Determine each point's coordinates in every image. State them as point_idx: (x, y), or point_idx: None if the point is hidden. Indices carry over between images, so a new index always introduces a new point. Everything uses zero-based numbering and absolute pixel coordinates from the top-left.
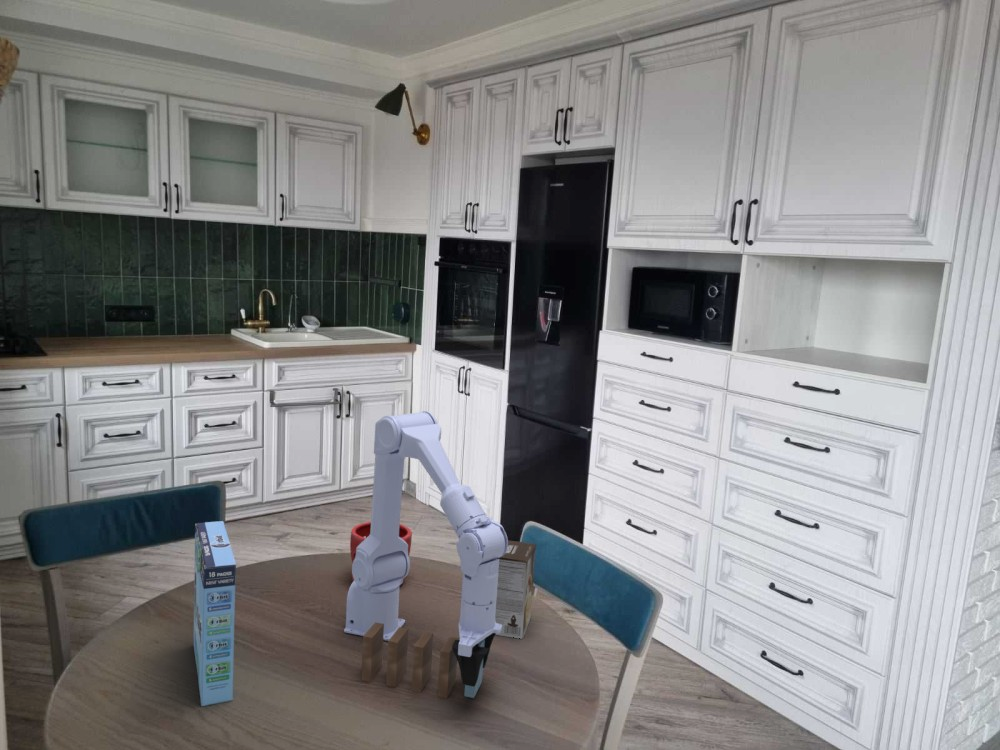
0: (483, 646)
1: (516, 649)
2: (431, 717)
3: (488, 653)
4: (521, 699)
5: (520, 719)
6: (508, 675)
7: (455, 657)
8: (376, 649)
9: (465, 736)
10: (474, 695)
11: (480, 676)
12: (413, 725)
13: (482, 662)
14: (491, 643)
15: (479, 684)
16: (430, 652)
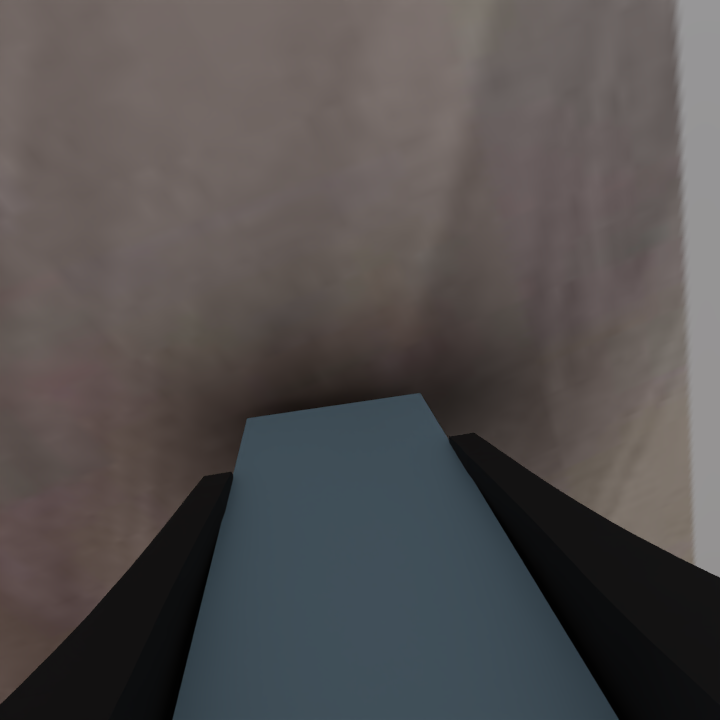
0: (230, 712)
1: None
2: (552, 476)
3: (158, 560)
4: (240, 124)
5: (460, 58)
6: (26, 309)
7: None
8: None
9: (652, 313)
10: (412, 398)
11: (294, 447)
12: (607, 501)
13: (253, 520)
14: (40, 676)
15: (306, 417)
16: None
